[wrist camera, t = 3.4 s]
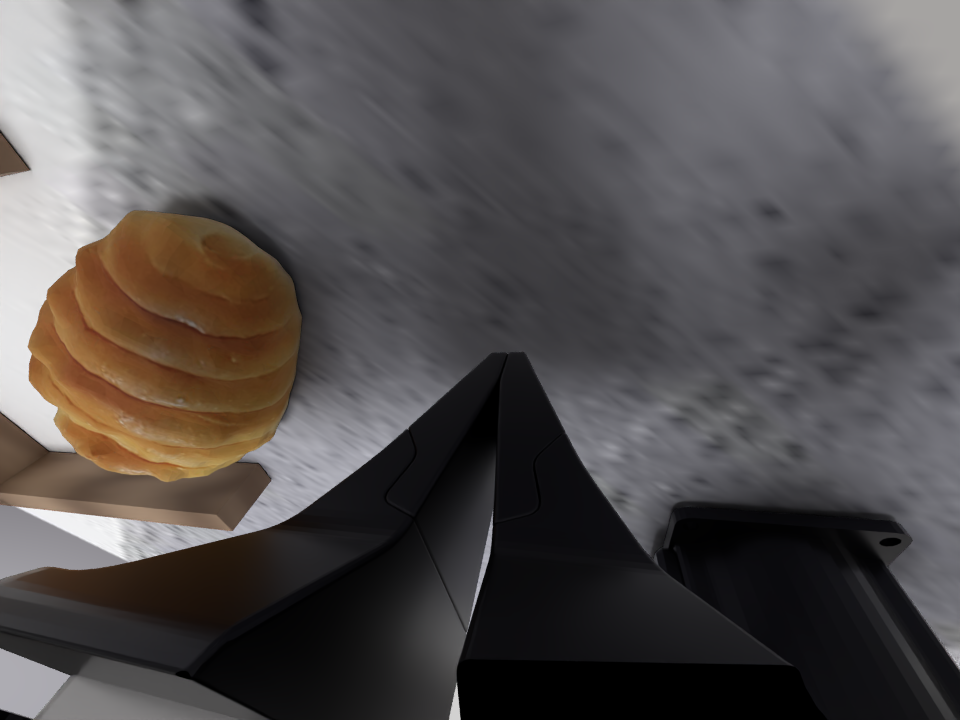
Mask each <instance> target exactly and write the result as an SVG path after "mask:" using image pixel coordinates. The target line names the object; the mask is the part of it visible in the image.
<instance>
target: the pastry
mask: <svg viewBox="0 0 960 720" xmlns="http://www.w3.org/2000/svg"><path fill="white" fill-rule="evenodd" d="M301 324H302V315H301V313H300V310H299V307H298V304H297V299H296V294H295V288H294V283H293V281H292V278H291V277H290V276H289V275H288V274H287V272H286V271H285V270H284V269H283V267H282V266H281V265H280V263H279V262H278V261H277V260H276V259H275V258H273V257H272V256H270V255H269V254H268V253H266V252H265V251H263V250H262V249H260V248H259V247H258V246H256V245H255V244H254V243H253V242H252V241H250V240H249V239H248V238H247V237H245V236H244V235H242V234H241V233H240V232H238V231H237V230H235V229H233V228H232V227H230V226H228V225H226V224H223V223H221V222H218V221H215V220H211V219H207V218H203V217H195V216H186V215H180V214H172V213H161V212H153V211H135V210H134V211H132V212H130V213H128V214H127V215H126V216H125V217H124V218H123V219H122V220H121V221H120V223H119V224H118V225H117V226H116V227H115V228H114V229H113V230H112V231H111V232H110V234H109V235H107V236H106V237H105V238H103V239H101V240H98V241H96V242H93V243H91V244H88V245H86V246H83V247H81V248H80V249H78V252H77V255H76V266H75V267H74V268H72V269H70V270H68V271H67V272H66V273H65V274H64V275H62V276H61V277H60V278H59V279H58V280H57V281H56V282H55V283H54V284H53V285H52V286H51V287H50V288H49V289H48V292H47V300H45V302H44V304H43V305H42V307H41V309H40V312H39V317H38V321H37V325H36V327H35V328H34V330H33V332H32V334H31V337H30V340H29V344H28V348H29V350H30V351H31V353H32V356H31V359H30V363H29V381H30V383H31V384H32V385H33V387H34V388H35V389H36V390H37V391H38V392H39V393H40V394H41V395H42V397H43V398H44V399H45V400H47V401H48V402H49V403H51V404H53V405H55V406H57V407H58V411H57V413H56V415H55V418H54V422H55V425H56V426H57V427H58V429H59V430H60V432H61V434H62V436H63V437H64V438H65V439H66V440H67V441H68V442H69V443H70V444H71V445H72V446H73V447H74V449H75V451H76V453H78V454H79V455H81V456H83V457H85V458H86V459H89V460H91V461H93V462H94V463H95V464H96V465H98V466H99V467H101V468H103V469H105V470H108V471H112V472H117V473H121V474H129V475H151V476H155V477H156V478H158V479H160V480H161V481H164V482H171V481H176V480H179V479H181V478H194V477H201V476H208V475H210V474H211V473H213V472H215V471H216V470H218V469H220V468H224V467H227V466H229V465H231V464H233V463H235V462H237V461H239V460H240V459H241V458H242V457H243V456H244V455H245V454H246V453H248V452H250V451H254V450H256V449H257V448H259V447H261V446H262V445H263V444H265V443H266V442H268V441H270V440H271V439H272V437H273V436H274V434H275V432H276V429H277V427H278V425H279V422H280V420H281V418H282V416H283V414H284V412H285V410H286V408H287V406H288V401H289V395H290V391H291V389H292V387H293V382H294V379H295V374H296V364H297V356H298V350H299V344H300V335H301Z"/></svg>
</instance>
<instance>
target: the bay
mask: <svg viewBox="0 0 960 720" xmlns="http://www.w3.org/2000/svg"><path fill="white" fill-rule="evenodd" d="M24 171H29V169H28V168H27V166H26V165H25V164H24V162H23V161H22V160H21V159H20V157H19V156H18V155H17V153H16V152H15V151H14V150H13V148H12V147H11V146H10V144H9V143H8V142H7V141H6V139H5V138H4V137H3V135H2V134H1V133H0V177H2V176H6V175H11V174H15V173H20V172H24ZM270 481H271V479H270V478H269V477H268V475H267V474H266V473H265V471H264V470H263V469H262V468H261V466H260V465H259V464H252V463H233V464H231V465H229V466H227V467H224V468H220V469H218V470H216V471H215V472H213V473H211V474H210V475H208V476H201V477H194V478H181V479H179V480H176V481H171V482H164V481H161V480H160V479H158V478H156V477H155V476H151V475H129V474H121V473H117V472H112V471H108V470H105V469H103V468H101V467H99V466H98V465H96V464H95V463H94V462H93V461H91V460H89V459H86V458H85V457H83V456H81V455H79V454H77V453H60V452H48V451H47V450H46V449H45V448H43V447H42V446H41V445H40V444H38V443H37V442H36V441H35V440H33V439H32V438H31V437H30V436H28V435H27V434H26V433H24V432H23V431H22V430H21V429H19V428H18V427H17V426H16V425H14V424H13V423H12V422H11V421H9V420H8V419H7V418H6V417H4V416H3V415H2V414H1V413H0V505H8V506H17V507H26V508H34V509H43V510H52V511H61V512H69V513H78V514H87V515H96V516H104V517H113V518H122V519H131V520H139V521H148V522H157V523H166V524H174V525H183V526H192V527H201V528H209V529H218V530H227V531H233V530H234V529H235V527H236V526H237V525H238V523H239V522H240V521H241V519H242V518H243V517H244V516H245V514H246V513H247V512H248V510H249V509H250V508H251V506H252V505H253V504H254V502H255V501H256V500H257V499H258V497H259V496H260V495H261V493H262V492H263V491H264V489H265V488H266V487H267V485H268V484H269V483H270Z"/></svg>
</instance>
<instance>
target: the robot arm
mask: <svg viewBox="0 0 960 720" xmlns="http://www.w3.org/2000/svg"><path fill="white" fill-rule="evenodd" d="M408 429H409V430H408ZM408 429H406V430H405V431H404V432H403V433H401V434H400V435H399V436H398V437H397V438H396V439H395V440H394V441H392V442H391V443H390V444H389V445H388V446H387V447H385V448H384V449H383V450H382V451H381V452H380V453H378V454H377V455H376V456H375V457H373V458H372V459H371V460H369V461H368V462H367V463H366V464H364V465H363V466H362V467H360V468H359V469H358V470H357V471H355V472H354V473H353V474H351V475H350V476H348V477H347V478H346V479H344V480H343V481H342V482H340V483H339V484H338V485H336V486H335V487H334V488H332V489H331V490H330V491H328V492H327V493H326V494H324V495H323V496H322V497H320V498H319V499H318V500H316V501H315V502H314V503H312V504H311V505H310V506H308V507H307V508H306V509H304V510H303V511H301V512H300V513H298V514H297V515H295V516H293V517H292V518H290V519H288V520H286V521H284V522H282V523H280V524H278V525H275V526H272V527H270V528H267V529H263V530H260V531H256V532H252V533H248V534H244V535H240V536H236V537H231V538H227V539H223V540H219V541H215V542H211V543H207V544H203V545H199V546H195V547H191V548H187V549H183V550H179V551H175V552H170V553H166V554H162V555H158V556H154V557H150V558H146V559H142V560H138V561H134V562H129V563H124V564H120V565H115V566H109V567H103V568H98V569H88V570H68V569H62V568H56V567H42V568H38V569H35V570H31V571H27V572H24V573H20V574H17V575H13V576H10V577H6V578H3V579H1V580H0V648H1V649H4V650H6V651H9V652H12V653H14V654H17V655H19V656H22V657H24V658H27V659H29V660H32V661H35V662H37V663H40V664H42V665H45V666H47V667H50V668H53V669H55V670H58V671H60V672H63V673H65V674H68V675H70V677H69V678H68V679H67V681H66V682H65V683H64V684H63V685H62V686H61V688H60V689H59V690H58V691H57V692H56V693H55V695H54V696H53V697H52V698H51V699H50V700H49V702H48V703H47V704H46V705H45V706H44V708H43V709H42V710H41V711H40V712H39V713H38V715H37V716H36V717H35V718H34V719H32V718H29V717H26V716H22V715H19V714H15V713H13V712H9V711H6V710H2V709H0V720H449V715H450V711H451V706H452V702H453V697H454V692H455V687H456V683H457V687H458V697H459V707H460V717H461V720H960V669H959V667H958V666H957V664H956V663H955V662H954V660H953V659H952V657H951V656H950V655H949V653H948V652H947V650H946V649H945V647H944V646H943V645H942V643H941V642H940V640H939V639H938V638H937V636H936V635H935V633H934V632H933V630H932V629H931V628H930V626H929V625H928V623H927V622H926V621H925V619H924V618H923V616H922V615H921V613H920V612H919V611H918V609H917V608H916V606H915V605H914V604H913V602H912V601H911V599H910V598H909V597H908V595H907V594H906V592H905V591H904V589H903V588H902V587H901V585H900V584H899V582H898V581H897V580H896V578H895V577H894V575H893V574H892V572H891V571H890V570H889V568H888V566H889V565H890V564H891V563H892V562H893V561H894V560H895V559H896V558H897V557H898V556H899V555H900V554H901V553H902V552H903V551H904V550H905V549H906V548H907V547H908V546H909V545H910V544H911V542H912V538H911V537H910V535H909V534H908V533H907V532H906V530H905V529H904V528H903V527H902V526H901V524H899V523H897V522H893V521H886V520H872V519H857V518H842V517H828V516H813V515H798V514H784V513H769V512H755V511H740V510H725V509H711V508H696V507H683V508H679V509H677V510H675V511H673V513H672V515H671V519H670V523H669V526H668V530H667V534H666V538H665V542H664V545H663V548H660V549H659V550H658V551H657V552H656V553H655V556H654V560H652V559H651V557H650V556H649V555H648V554H647V553H646V551H645V550H644V549H643V548H642V547H641V545H640V544H639V543H638V541H637V540H636V539H635V537H634V536H633V535H632V533H631V532H630V530H629V529H628V528H627V526H626V525H625V523H624V522H623V521H622V519H621V518H620V516H619V515H618V514H617V512H616V511H615V510H614V508H613V507H612V505H611V504H610V503H609V501H608V500H607V498H606V497H605V496H604V494H603V493H602V491H601V490H600V489H599V487H598V486H597V484H596V483H595V482H594V480H593V479H592V477H591V476H590V474H589V473H588V471H587V470H586V468H585V467H584V465H583V463H582V462H581V460H580V458H579V456H578V455H577V453H576V451H575V449H574V447H573V446H572V444H571V442H570V440H569V438H568V436H567V434H566V433H565V430H564V428H563V426H562V424H561V422H560V420H559V418H558V416H557V415H556V413H555V411H554V409H553V407H552V405H551V403H550V401H549V399H548V397H547V395H546V393H545V391H544V389H543V387H542V385H541V383H540V381H539V379H538V377H537V375H536V373H535V371H534V369H533V367H532V365H531V363H530V361H529V359H528V357H527V355H526V354H525V353H524V352H510V353H509V354H507V353H506V352H500V353H491V354H490V355H489V356H488V357H487V358H485V359H484V360H483V361H482V362H481V363H480V364H479V365H478V366H477V367H475V368H474V369H473V370H472V371H471V372H470V373H469V374H468V375H466V376H465V377H464V378H463V379H462V380H461V381H460V382H459V383H458V384H456V385H455V386H454V387H453V388H452V389H451V390H450V391H449V392H447V393H446V394H445V395H444V396H443V397H442V398H441V399H440V400H439V401H437V402H436V403H435V404H434V405H433V406H432V407H431V408H430V409H428V410H427V411H426V412H425V413H424V414H423V415H422V416H421V417H420V418H418V419H417V420H416V421H415V422H414V423H413V424H412V425H411V426H409V428H408ZM493 507H494V508H493ZM492 512H493V531H492V544H491V552H490V558H489V562H488V565H487V568H486V572H485V575H484V578H483V582H482V585H481V588H480V592H479V595H478V598H477V602H476V605H475V608H474V612H473V615H472V619H471V622H470V625H469V621H470V616H471V611H472V607H473V602H474V597H475V592H476V588H477V583H478V578H479V573H480V569H481V564H482V559H483V555H484V550H485V545H486V540H487V536H488V531H489V526H490V521H491V517H492ZM468 625H469V629H468ZM467 630H468V632H467ZM466 632H467V635H466Z"/></svg>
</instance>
